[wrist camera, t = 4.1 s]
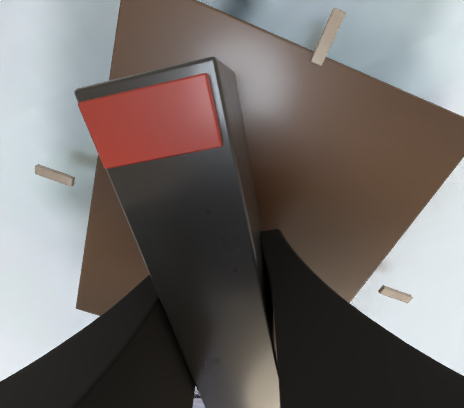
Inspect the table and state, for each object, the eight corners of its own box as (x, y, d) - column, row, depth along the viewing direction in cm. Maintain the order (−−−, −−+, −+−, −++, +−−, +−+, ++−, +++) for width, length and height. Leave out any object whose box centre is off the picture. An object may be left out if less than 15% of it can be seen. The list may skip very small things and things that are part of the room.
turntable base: (311, 362, 17) (319, 399, 15) (58, 283, 15) (29, 313, 13) (512, 111, 10) (577, 118, 8) (93, -76, 8) (46, -126, 6)
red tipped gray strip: (281, 337, 13) (300, 485, 8) (238, 340, 13) (232, 486, 8) (234, 70, 8) (213, 52, 3) (167, 86, 8) (59, 89, 4)
